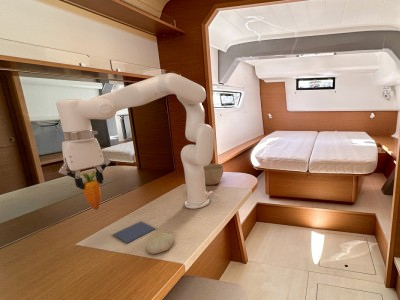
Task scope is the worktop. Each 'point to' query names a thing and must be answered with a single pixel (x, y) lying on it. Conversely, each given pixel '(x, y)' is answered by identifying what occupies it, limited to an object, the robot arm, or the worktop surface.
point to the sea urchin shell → (159, 243)
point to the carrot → (92, 191)
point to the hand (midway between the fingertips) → (90, 185)
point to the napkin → (134, 232)
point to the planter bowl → (213, 173)
